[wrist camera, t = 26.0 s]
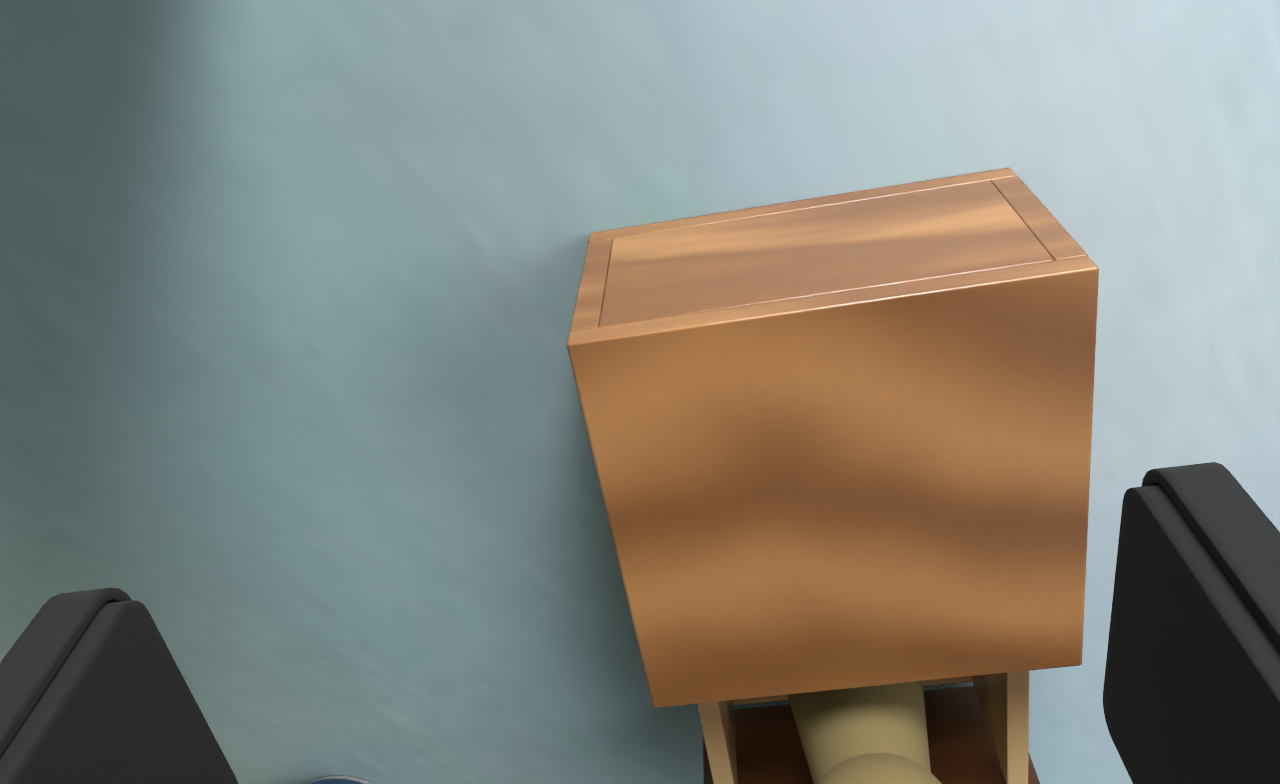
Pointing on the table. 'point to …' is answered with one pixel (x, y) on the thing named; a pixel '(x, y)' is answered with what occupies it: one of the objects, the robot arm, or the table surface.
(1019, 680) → the drawer
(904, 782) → the wooden game pawn
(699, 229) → the cabinet
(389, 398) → the table surface
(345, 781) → the soda can
